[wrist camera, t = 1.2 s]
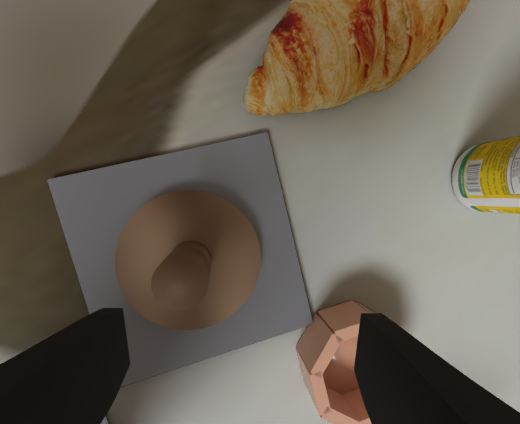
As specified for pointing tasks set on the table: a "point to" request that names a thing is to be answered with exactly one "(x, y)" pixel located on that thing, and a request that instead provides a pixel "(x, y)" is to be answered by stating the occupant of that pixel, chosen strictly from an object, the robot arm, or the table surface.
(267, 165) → the mat
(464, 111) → the table surface
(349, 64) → the croissant
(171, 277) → the lid
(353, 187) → the table surface
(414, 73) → the table surface
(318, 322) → the bowl
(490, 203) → the supplement bottle
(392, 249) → the table surface
